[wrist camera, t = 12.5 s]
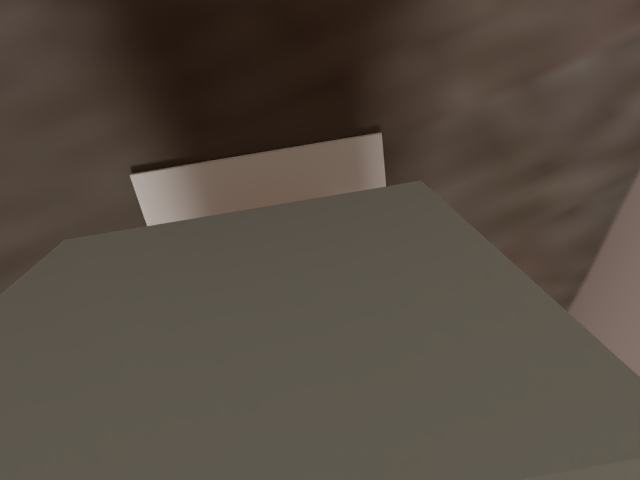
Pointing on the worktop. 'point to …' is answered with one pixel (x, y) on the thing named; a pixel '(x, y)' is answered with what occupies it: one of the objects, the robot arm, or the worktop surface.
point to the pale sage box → (305, 354)
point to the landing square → (261, 179)
